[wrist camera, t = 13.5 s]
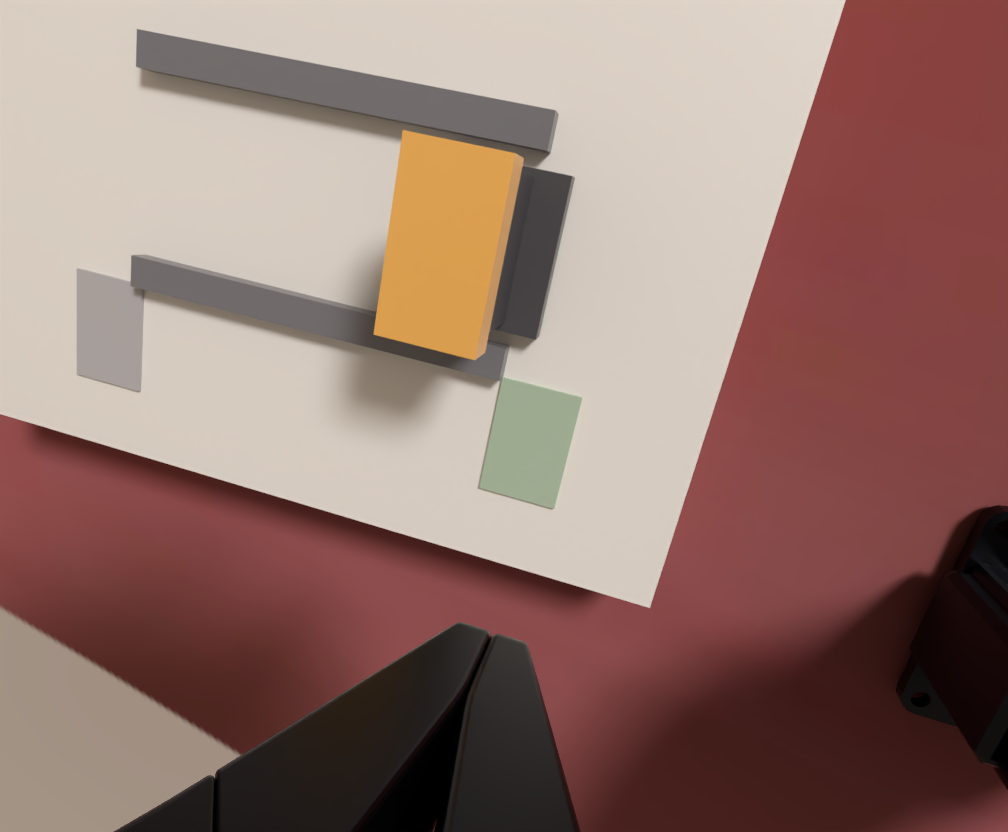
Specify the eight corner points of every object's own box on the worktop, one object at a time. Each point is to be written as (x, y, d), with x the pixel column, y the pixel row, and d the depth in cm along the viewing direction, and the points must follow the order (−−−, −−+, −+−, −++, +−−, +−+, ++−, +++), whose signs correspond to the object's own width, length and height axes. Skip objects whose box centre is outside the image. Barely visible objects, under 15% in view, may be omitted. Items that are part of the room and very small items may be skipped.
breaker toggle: (574, 177, 14) (550, 160, 11) (539, 336, 15) (506, 368, 12) (437, 149, 15) (370, 122, 11) (412, 305, 16) (344, 327, 12)
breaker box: (840, -60, 15) (896, -143, 11) (649, 553, 20) (649, 618, 16) (74, -173, 18) (-59, -266, 14) (75, 388, 22) (-23, 416, 19)
